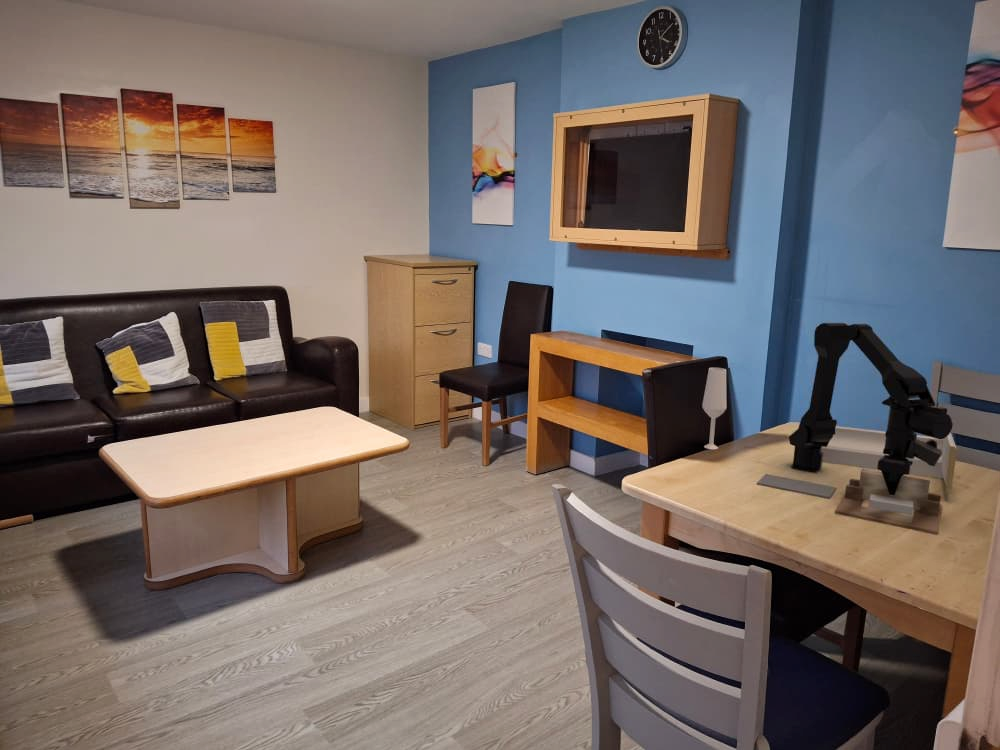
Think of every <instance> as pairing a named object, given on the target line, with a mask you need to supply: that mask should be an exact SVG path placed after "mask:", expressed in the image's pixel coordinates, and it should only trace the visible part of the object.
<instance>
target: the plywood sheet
mask: <svg viewBox="0 0 1000 750" xmlns="http://www.w3.org/2000/svg"><path fill="white" fill-rule="evenodd" d="M859 480H860V482H859V487H862V488H863V493H862V499H865V500H870V494H874V495H880V496H886V497H891V498H897V499H903V500H909V501H913V509H916V510H920V508H921V501H922V499H926V500H928V493H930V492H929V491H930V484H931V480H930V479H923V478H918V477H912V476H907V475H903V476H902V477H901V479H900V482H899V484H898V487H897V490H896V493H895V495H890V494H889V492H888V489H887V486H886V483H885V480H884V477H883V474H882V471H880V470H874V469H869V468H862V469H861V471H860V475H859Z"/></svg>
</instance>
